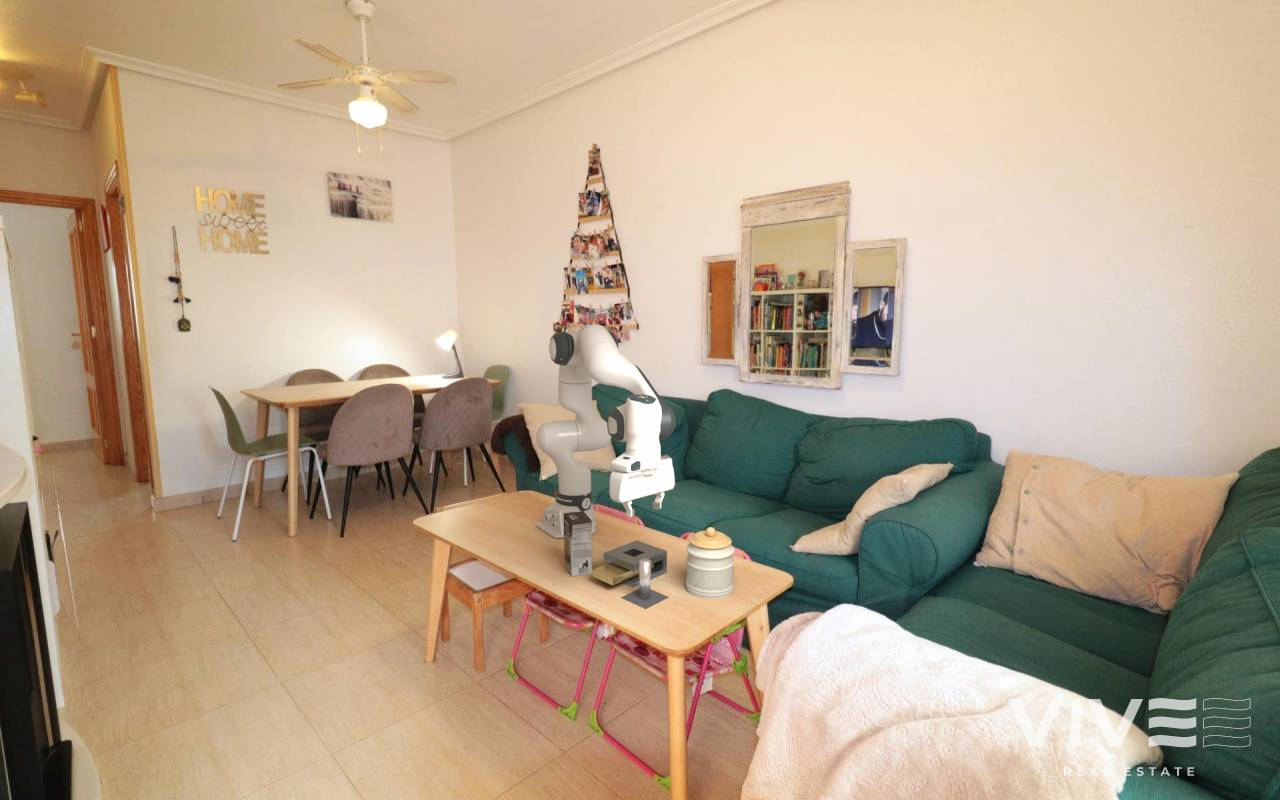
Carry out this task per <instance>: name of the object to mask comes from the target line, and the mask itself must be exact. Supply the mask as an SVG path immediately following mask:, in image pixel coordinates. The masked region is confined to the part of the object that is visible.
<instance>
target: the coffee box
mask: <svg viewBox="0 0 1280 800" xmlns="http://www.w3.org/2000/svg"><path fill="white" fill-rule="evenodd" d="M563 539H564V541H563V546H564V548H563V549H564V550H563V551H564V554H563V555H564V565H565V567H566V569H567V571H568V573H569V575H570V576H571V577H578V576H586V575H593V534H592V520H591V519H590V518H589V517H588V516H587V515H586V513H585V512H584V511H582V512H570V513H564V537H563Z"/></svg>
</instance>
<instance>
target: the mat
mask: <svg viewBox="0 0 1280 800" xmlns="http://www.w3.org/2000/svg"><path fill="white" fill-rule="evenodd" d="M620 598H621V599H622V600H625V601H626V602H629V603H631V604H633V605H636V606H638V607H640V608H642V609H644V610H647V609H649V608H651V607H653V606H655V605H657V604H659V603H662V602H663V601H664V600H666V599H669V598H670V597H669V596H668V595H665V594H662V593H661V592H658V591H656V590H654V589H651V598H650V599H648V600H642V599H640V598H639V588H638V589H635V590H633V591H632V592H630V593H627V594H625V595H624V596H620Z"/></svg>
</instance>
